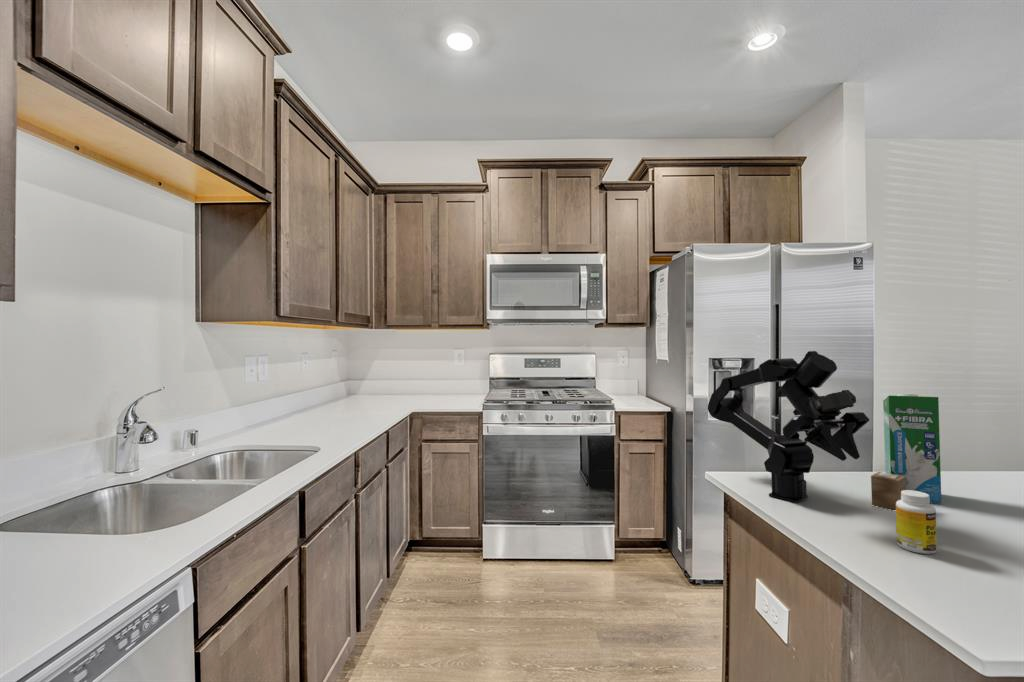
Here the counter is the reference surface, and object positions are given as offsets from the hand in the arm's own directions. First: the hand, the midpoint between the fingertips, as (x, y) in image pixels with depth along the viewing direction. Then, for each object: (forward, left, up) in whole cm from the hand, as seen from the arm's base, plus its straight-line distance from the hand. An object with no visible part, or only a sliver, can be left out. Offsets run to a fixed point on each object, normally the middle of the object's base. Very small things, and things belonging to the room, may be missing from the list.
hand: (851, 458), depth 96 cm
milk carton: (+2, +30, -14) cm, 33 cm away
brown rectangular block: (+1, +17, -14) cm, 22 cm away
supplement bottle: (+11, -5, -14) cm, 18 cm away
